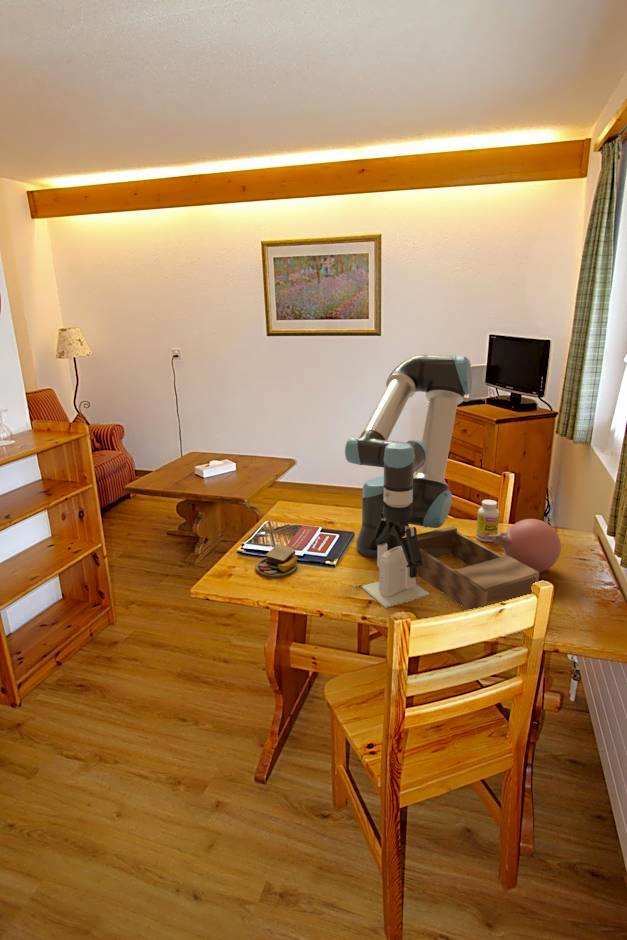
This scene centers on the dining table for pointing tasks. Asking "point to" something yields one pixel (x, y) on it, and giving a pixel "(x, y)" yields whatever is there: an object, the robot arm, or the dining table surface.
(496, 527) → the supplement bottle
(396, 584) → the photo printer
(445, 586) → the walnut box
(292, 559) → the toy sandwich meal
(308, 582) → the dining table surface
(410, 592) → the felt mat
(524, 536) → the pink rubber bulb
